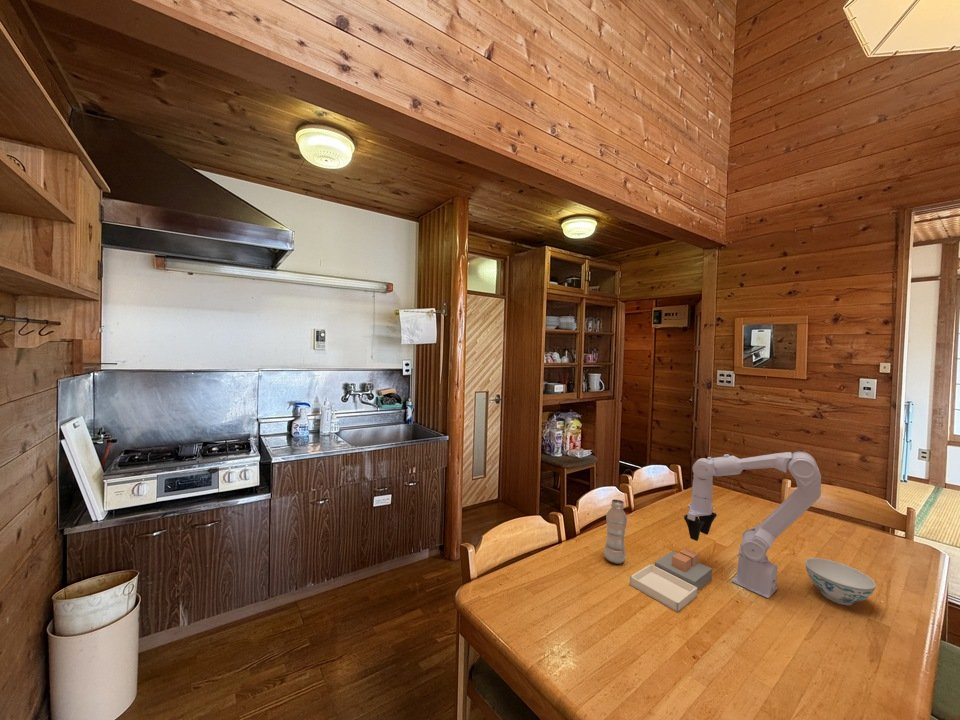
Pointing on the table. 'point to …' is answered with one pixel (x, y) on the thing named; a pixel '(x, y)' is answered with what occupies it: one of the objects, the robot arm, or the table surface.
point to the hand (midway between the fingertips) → (699, 536)
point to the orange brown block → (690, 556)
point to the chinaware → (839, 581)
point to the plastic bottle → (615, 532)
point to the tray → (664, 587)
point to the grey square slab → (693, 576)
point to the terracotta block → (681, 562)
